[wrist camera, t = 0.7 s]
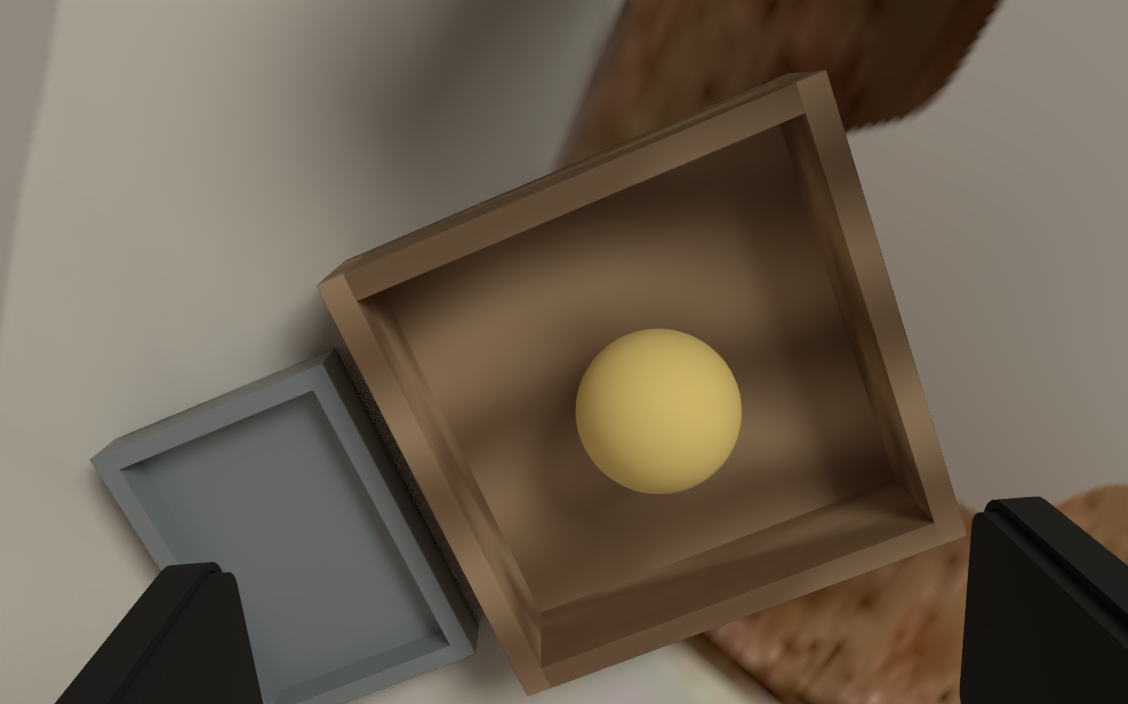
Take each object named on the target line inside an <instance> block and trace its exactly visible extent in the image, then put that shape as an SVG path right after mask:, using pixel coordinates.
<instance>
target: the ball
mask: <svg viewBox="0 0 1128 704" xmlns="http://www.w3.org/2000/svg"><path fill="white" fill-rule="evenodd" d="M575 412H576V423H577V428H578V433H579V436H580V439H581V441H582V444H583V446H584V448H585V450H586V452H587V454H588V455H589V456H590V458H591V459H592V461H593V462H594V463H595V465H596V466H597V467H598V468H599V469H600V470H601V471H602V472H603V473H604V474H605V475H607V476H608V477H609V478H611V479H612V480H614V481H615V482H617V483H619V484H620V485H622V486H624V487H627V488H629V489H632V490H635V491H638V492H643V493H649V494H670V493H676V492H680V491H684V490H687V489H690V488H692V487H694V486H696V485H698V484H700V483H702V482H703V481H705V480H706V479H708V478H709V477H710V476H712V475H713V474H714V473H715V472H716V471H717V470H718V469H719V468H720V467H721V466H722V465H723V464H724V462H725V461H726V460H727V459H728V457H729V455H730V454H731V452H732V450H733V448H734V446H735V443H736V441H737V438H738V435H739V431H740V427H741V420H742V405H741V398H740V392H739V389H738V386H737V383H736V381H735V378H734V376H733V374H732V372H731V370H730V369H729V367H728V365H727V364H726V362H725V361H724V360H723V359H722V358H721V357H720V355H719V354H718V353H717V352H716V351H714V350H713V349H712V348H711V347H710V346H709V345H707V344H706V343H704V342H703V341H701V340H700V339H698V338H696V337H693V336H691V335H689V334H686V333H683V332H680V331H676V330H671V329H659V328H656V329H645V330H640V331H636V332H633V333H630V334H627V335H625V336H623V337H621V338H618V339H617V340H615V341H614V342H612V343H610V344H609V345H608V346H606V347H605V348H604V349H603V350H602V351H601V352H600V353H599V354H598V355H597V356H596V357H595V358H594V359H593V361H592V362H591V364H590V365H589V366H588V368H587V370H586V372H585V374H584V376H583V378H582V380H581V383H580V386H579V388H578V393H577V398H576V411H575Z"/></svg>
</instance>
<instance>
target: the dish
mask: <svg viewBox="0 0 1128 704" xmlns="http://www.w3.org/2000/svg"><path fill="white" fill-rule="evenodd" d="M90 461H91V463H92V464H93V466H94V467H95V469H96V470H97V472H98V474H99V475H100V477H101V478H102V480H103V481H104V483H105V484H106V486H107V488H108V489H109V491H110V492H111V494H112V495H113V497H114V499H115V500H116V502H117V503H118V505H119V506H120V508H121V509H122V511H123V513H124V514H125V516H126V517H127V519H128V520H129V522H130V524H131V525H132V527H133V528H134V530H135V531H136V533H137V534H138V536H139V538H140V539H141V541H142V542H143V544H144V545H145V547H146V549H147V550H148V552H149V553H150V555H151V556H152V558H153V560H154V561H155V563H156V564H157V566H158V567H159V569H160V570H161V571H162V570H163V569H164V568H165V567H166V566H169V565H179V564H191V563H204V562H215V563H217V564H218V565H219V566H220V568H221V570H222V572H231V573H232V574H233V575H234V576H235V578H236V581H237V584H238V589H239V594H240V598H241V603H242V608H243V612H244V617H245V621H246V626H247V631H248V635H249V640H250V645H251V649H252V654H253V658H254V663H255V668H256V672H257V677H258V682H259V686H260V691H261V695H262V700H263V704H343V703H346V702H348V701H351V700H354V699H356V698H359V697H362V696H364V695H367V694H370V693H372V692H375V691H378V690H380V689H383V688H386V687H388V686H391V685H394V684H397V683H399V682H402V681H405V680H407V679H410V678H413V677H415V676H418V675H421V674H423V673H426V672H429V671H431V670H434V669H437V668H439V667H442V666H445V665H447V664H450V663H453V662H455V661H458V660H461V659H463V658H466V657H469V656H471V655H474V654H476V646H477V637H478V628H479V625H478V623H477V621H476V619H475V617H474V615H473V613H472V611H471V609H470V607H469V606H468V604H467V602H466V600H465V598H464V596H463V594H462V592H461V590H460V588H459V586H458V584H457V582H456V581H455V579H454V577H453V575H452V573H451V571H450V569H449V567H448V565H447V563H446V561H445V559H444V557H443V556H442V554H441V552H440V550H439V548H438V546H437V544H436V542H435V540H434V538H433V536H432V534H431V532H430V531H429V529H428V527H427V525H426V523H425V521H424V519H423V517H422V515H421V513H420V511H419V509H418V507H417V506H416V504H415V502H414V500H413V498H412V496H411V494H410V492H409V490H408V488H407V486H406V484H405V482H404V481H403V479H402V477H401V475H400V473H399V471H398V469H397V467H396V465H395V463H394V461H393V459H392V457H391V456H390V454H389V452H388V450H387V448H386V446H385V444H384V442H383V440H382V438H381V436H380V434H379V432H378V431H377V429H376V427H375V425H374V423H373V421H372V419H371V417H370V415H369V413H368V411H367V409H366V407H365V406H364V404H363V402H362V400H361V398H360V396H359V394H358V392H357V390H356V388H355V386H354V384H353V383H352V381H351V379H350V377H349V375H348V373H347V371H346V369H345V367H344V365H343V363H342V361H341V359H340V358H339V356H338V354H337V352H336V350H335V348H334V349H332V350H329V351H327V352H325V353H322V354H320V355H317V356H315V357H313V358H310V359H308V360H305V361H303V362H301V363H298V364H296V365H293V366H291V367H288V368H286V369H284V370H281V371H279V372H276V373H274V374H272V375H269V376H267V377H264V378H262V379H260V380H257V381H255V382H252V383H250V384H248V385H245V386H243V387H240V388H238V389H235V390H233V391H231V392H228V393H226V394H223V395H221V396H219V397H216V398H214V399H211V400H209V401H207V402H204V403H202V404H199V405H197V406H195V407H192V408H190V409H187V410H185V411H182V412H180V413H178V414H175V415H173V416H170V417H168V418H166V419H163V420H161V421H158V422H156V423H154V424H151V425H149V426H146V427H144V428H141V429H139V430H137V431H134V432H132V433H129V434H127V435H125V436H122V437H120V438H117V439H115V440H114V441H112V442H111V443H110V444H109V445H107V446H106V447H105V448H104V449H103V450H101V451H100V452H99V453H98V454H96V455H95V456H94V457H93V458H91V459H90Z"/></svg>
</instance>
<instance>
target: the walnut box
mask: <svg viewBox="0 0 1128 704" xmlns="http://www.w3.org/2000/svg"><path fill="white" fill-rule="evenodd" d="M317 288H318V290H319V292H320V294H321V296H322V298H323V300H324V302H325V304H326V306H327V308H328V310H329V312H330V314H331V316H332V318H333V319H334V321H335V323H336V325H337V327H338V329H339V331H340V333H341V335H342V337H343V339H344V341H345V343H346V345H347V347H348V349H349V351H350V352H351V354H352V356H353V358H354V360H355V362H356V364H357V366H358V368H359V370H360V372H361V374H362V376H363V378H364V380H365V382H366V384H367V386H368V387H369V389H370V391H371V393H372V395H373V397H374V399H375V401H376V403H377V405H378V407H379V409H380V411H381V413H382V415H383V417H384V419H385V420H386V422H387V424H388V426H389V428H390V430H391V432H392V434H393V436H394V438H395V440H396V442H397V444H398V446H399V448H400V450H401V452H402V453H403V455H404V457H405V459H406V461H407V463H408V465H409V467H410V469H411V471H412V473H413V475H414V477H415V479H416V481H417V483H418V485H419V487H420V488H421V490H422V492H423V494H424V496H425V498H426V500H427V502H428V504H429V506H430V508H431V510H432V512H433V514H434V516H435V518H436V520H437V521H438V523H439V525H440V527H441V529H442V531H443V533H444V535H445V537H446V539H447V541H448V543H449V545H450V547H451V549H452V551H453V553H454V554H455V556H456V558H457V560H458V562H459V564H460V566H461V568H462V570H463V572H464V574H465V576H466V578H467V580H468V582H469V584H470V586H471V588H472V589H473V591H474V593H475V595H476V597H477V599H478V601H479V603H480V605H481V607H482V609H483V611H484V613H485V615H486V617H487V619H488V621H489V622H490V624H491V626H492V628H493V630H494V632H495V634H496V636H497V638H498V640H499V642H500V644H501V646H502V648H503V650H504V652H505V654H506V655H507V657H508V659H509V661H510V663H511V665H512V667H513V669H514V671H515V673H516V675H517V677H518V679H519V681H520V683H521V685H522V687H523V688H524V690H525V692H526V694H527V696H530V695H533V694H536V693H539V692H541V691H544V690H547V689H550V688H552V687H555V686H558V685H560V684H563V683H566V682H569V681H571V680H574V679H577V678H579V677H582V676H585V675H588V674H590V673H593V672H596V671H599V670H601V669H604V668H607V667H609V666H612V665H615V664H618V663H620V662H623V661H626V660H629V659H631V658H634V657H637V656H639V655H642V654H645V653H648V652H650V651H653V650H656V649H659V648H661V647H664V646H667V645H669V644H672V643H675V642H678V641H680V640H683V639H686V638H688V637H691V636H694V635H697V634H699V633H702V632H705V631H708V630H710V629H713V628H716V627H718V626H721V625H724V624H727V623H729V622H732V621H735V620H738V619H740V618H743V617H746V616H748V615H751V614H754V613H757V612H759V611H762V610H765V609H768V608H770V607H773V606H776V605H778V604H781V603H784V602H787V601H789V600H792V599H795V598H798V597H800V596H803V595H806V594H808V593H811V592H814V591H817V590H819V589H822V588H825V587H827V586H830V585H833V584H836V583H838V582H841V581H844V580H847V579H849V578H852V577H855V576H857V575H860V574H863V573H866V572H868V571H871V570H874V569H877V568H879V567H882V566H885V565H887V564H890V563H893V562H896V561H898V560H901V559H904V558H907V557H909V556H912V555H915V554H917V553H920V552H923V551H926V550H928V549H931V548H934V547H937V546H939V545H942V544H945V543H947V542H950V541H953V540H956V539H958V538H961V537H964V536H966V535H967V534H966V531H965V528H964V524H963V521H962V518H961V514H960V511H959V508H958V504H957V501H956V498H955V495H954V491H953V488H952V485H951V481H950V478H949V475H948V471H947V468H946V465H945V462H944V458H943V455H942V452H941V448H940V445H939V442H938V438H937V435H936V432H935V429H934V425H933V422H932V418H931V415H930V412H929V409H928V405H927V402H926V399H925V395H924V392H923V389H922V386H921V382H920V379H919V376H918V372H917V369H916V366H915V362H914V359H913V356H912V353H911V349H910V346H909V342H908V339H907V336H906V332H905V329H904V326H903V323H902V319H901V316H900V313H899V310H898V306H897V303H896V299H895V296H894V293H893V290H892V287H891V283H890V280H889V276H888V273H887V270H886V266H885V263H884V260H883V257H882V253H881V250H880V247H879V244H878V240H877V237H876V233H875V230H874V227H873V224H872V220H871V217H870V213H869V210H868V207H867V204H866V200H865V197H864V194H863V190H862V187H861V184H860V180H859V177H858V174H857V170H856V167H855V164H854V161H853V158H852V154H851V151H850V147H849V144H848V141H847V137H846V134H845V131H844V127H843V124H842V121H841V118H840V114H839V111H838V108H837V104H836V101H835V98H834V94H833V91H832V88H831V84H830V81H829V78H828V75H827V71H826V70H821V71H810V72H798V73H787V74H784V75H782V76H779V77H777V78H775V79H772V80H770V81H767V82H765V83H763V84H760V85H758V86H756V87H753V88H751V89H749V90H746V91H744V92H742V93H739V94H737V95H735V96H732V97H730V98H727V99H725V100H723V101H720V102H718V103H716V104H713V105H711V106H709V107H706V108H704V109H702V110H699V111H697V112H694V113H692V114H690V115H687V116H685V117H683V118H680V119H678V120H676V121H673V122H671V123H669V124H666V125H664V126H662V127H659V128H657V129H654V130H652V131H650V132H647V133H645V134H643V135H640V136H638V137H636V138H633V139H631V140H629V141H626V142H624V143H621V144H619V145H617V146H614V147H612V148H610V149H607V150H605V151H603V152H600V153H598V154H596V155H593V156H591V157H588V158H586V159H584V160H581V161H579V162H577V163H574V164H572V165H570V166H567V167H565V168H563V169H560V170H558V171H556V172H553V173H551V174H548V175H546V176H544V177H541V178H539V179H537V180H534V181H532V182H530V183H527V184H525V185H523V186H520V187H518V188H515V189H513V190H511V191H508V192H506V193H504V194H501V195H499V196H497V197H494V198H492V199H490V200H487V201H485V202H483V203H480V204H478V205H475V206H473V207H471V208H468V209H466V210H464V211H461V212H459V213H457V214H454V215H452V216H450V217H447V218H445V219H442V220H440V221H438V222H435V223H433V224H431V225H428V226H426V227H424V228H421V229H419V230H417V231H414V232H412V233H409V234H407V235H405V236H402V237H400V238H398V239H395V240H393V241H391V242H388V243H386V244H384V245H381V246H379V247H377V248H374V249H372V250H369V251H367V252H365V253H362V254H360V255H358V256H355V257H353V258H351V259H348V260H346V261H345V262H343V263H342V264H341V265H340V266H339V267H338V268H336V269H335V270H334V271H333V272H332V273H331V274H329V275H328V276H327V277H326V278H325V279H324V280H322V281H321V282H320V283H319V284H318V285H317ZM656 328H659V329H671V330H676V331H680V332H683V333H686V334H689V335H691V336H693V337H696V338H698V339H700V340H701V341H703V342H704V343H706V344H707V345H709V346H710V347H711V348H712V349H713V350H714V351H716V352H717V353H718V354H719V355H720V357H721V358H722V359H723V360H724V361H725V362H726V364H727V365H728V367H729V369H730V370H731V372H732V374H733V376H734V378H735V381H736V383H737V386H738V389H739V392H740V398H741V405H742V420H741V427H740V431H739V435H738V438H737V441H736V443H735V446H734V448H733V450H732V452H731V454H730V455H729V457H728V459H727V460H726V461H725V462H724V464H723V465H722V466H721V467H720V468H719V469H718V470H717V471H716V472H715V473H714V474H713V475H712V476H710V477H709V478H708V479H706V480H705V481H703V482H702V483H700V484H698V485H696V486H694V487H692V488H690V489H687V490H684V491H680V492H676V493H670V494H649V493H643V492H638V491H635V490H632V489H629V488H627V487H624V486H622V485H620V484H619V483H617V482H615V481H614V480H612V479H611V478H609V477H608V476H607V475H605V474H604V473H603V472H602V471H601V470H600V469H599V468H598V467H597V466H596V465H595V463H594V462H593V461H592V459H591V458H590V456H589V455H588V454H587V452H586V450H585V448H584V446H583V444H582V441H581V439H580V436H579V433H578V428H577V423H576V412H575V411H576V398H577V393H578V388H579V386H580V383H581V380H582V378H583V376H584V374H585V372H586V370H587V368H588V366H589V365H590V364H591V362H592V361H593V359H594V358H595V357H596V356H597V355H598V354H599V353H600V352H601V351H602V350H603V349H604V348H605V347H606V346H608V345H609V344H610V343H612V342H614V341H615V340H617V339H618V338H621V337H623V336H625V335H627V334H630V333H633V332H636V331H640V330H645V329H656Z"/></svg>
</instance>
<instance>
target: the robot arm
mask: <svg viewBox="0 0 1128 704" xmlns="http://www.w3.org/2000/svg"><path fill="white" fill-rule="evenodd" d="M960 701H961V704H1128V566H1127V565H1126V564H1125V563H1124V562H1122V561H1121V560H1120V559H1119V558H1117V557H1116V556H1115V555H1114V554H1112V553H1111V552H1110V551H1109V550H1107V549H1106V548H1105V547H1104V546H1102V545H1101V544H1100V543H1099V542H1097V541H1096V540H1095V539H1094V538H1092V537H1091V536H1090V535H1089V534H1087V533H1086V532H1085V531H1084V530H1082V529H1081V528H1080V527H1079V526H1077V525H1076V524H1075V523H1074V522H1072V521H1071V520H1070V519H1069V518H1068V517H1066V516H1065V515H1064V514H1063V513H1061V512H1060V511H1059V510H1058V509H1056V508H1055V507H1054V506H1053V505H1051V504H1050V503H1049V502H1047V501H1046V500H1045V499H1043V498H1041V497H1024V498H1011V499H998V500H991V501H990V502H989V503H988V504H987V506H986V508H985V510H984V512H980V513H977V514H976V515H975V516H974V518H973V521H972V528H971V542H970V555H969V569H968V582H967V596H966V609H965V623H964V636H963V650H962V663H961V677H960ZM55 704H263V700H262V695H261V691H260V686H259V682H258V677H257V672H256V668H255V663H254V658H253V654H252V649H251V645H250V640H249V635H248V631H247V626H246V621H245V617H244V612H243V608H242V603H241V598H240V594H239V589H238V584H237V581H236V578H235V576H234V575H233V574H232V573H231V572H222V570H221V568H220V566H219V565H218V564H217V563H215V562H204V563H191V564H179V565H169V566H166V567H165V568H164V569H163V570H162V571H161V572H160V573H159V575H158V576H157V577H156V578H155V580H154V581H153V582H152V583H151V585H150V586H149V587H148V588H147V589H146V591H145V592H144V593H143V594H142V596H141V597H140V598H139V599H138V601H137V602H136V603H135V604H134V606H133V607H132V608H131V609H130V611H129V612H128V613H127V614H126V616H125V617H124V618H123V619H122V621H121V622H120V623H119V624H118V626H117V627H116V628H115V629H114V630H113V632H112V633H111V634H110V635H109V637H108V638H107V639H106V640H105V642H104V643H103V644H102V645H101V647H100V648H99V649H98V650H97V652H96V653H95V654H94V655H93V657H92V658H91V659H90V660H89V662H88V663H87V664H86V665H85V667H84V668H83V669H82V670H81V671H80V673H79V674H78V675H77V676H76V678H75V679H74V680H73V681H72V683H71V684H70V685H69V686H68V688H67V689H66V690H65V691H64V693H63V694H62V695H61V696H60V698H59V699H58V700H57V701H56V703H55Z"/></svg>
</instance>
